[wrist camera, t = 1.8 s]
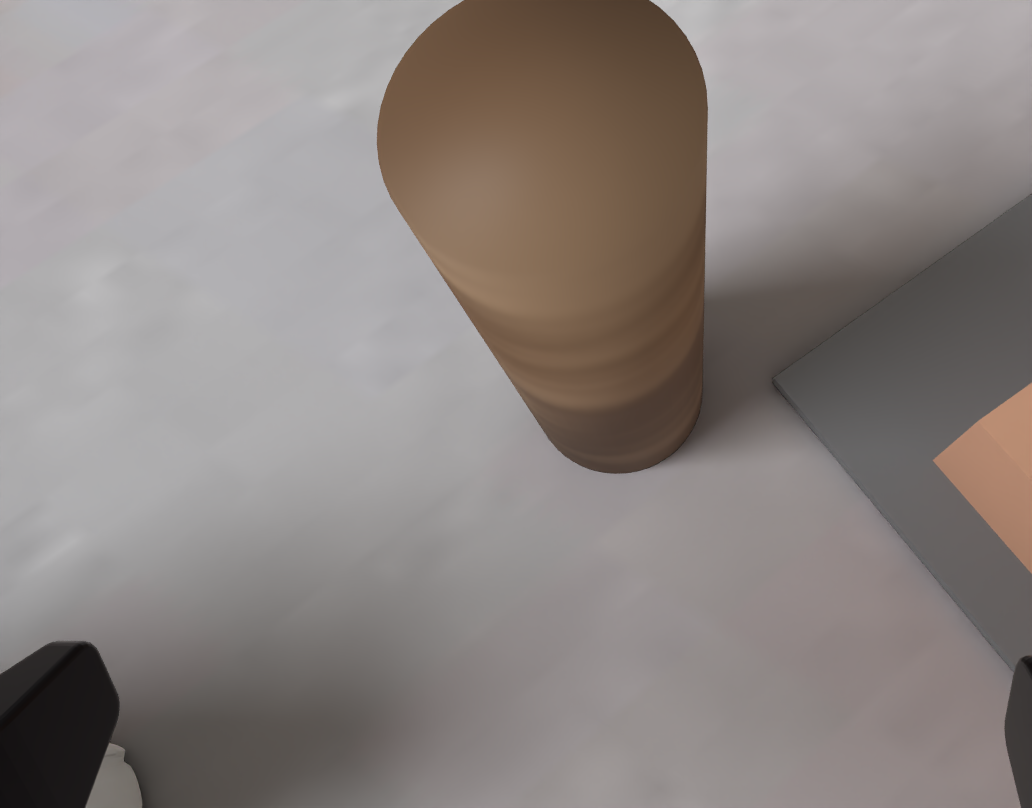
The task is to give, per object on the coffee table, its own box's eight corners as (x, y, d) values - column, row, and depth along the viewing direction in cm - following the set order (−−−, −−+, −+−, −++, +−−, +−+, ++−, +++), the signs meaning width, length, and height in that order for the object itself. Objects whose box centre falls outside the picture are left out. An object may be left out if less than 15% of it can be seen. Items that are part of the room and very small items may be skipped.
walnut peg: (737, 407, 22) (779, 134, 11) (597, 506, 22) (492, 339, 11) (636, 281, 23) (577, -82, 12) (504, 376, 23) (319, 101, 12)
